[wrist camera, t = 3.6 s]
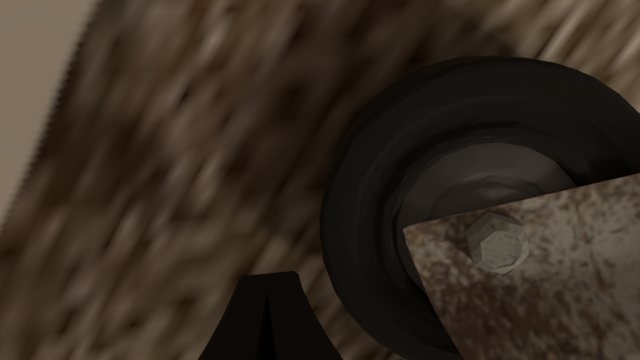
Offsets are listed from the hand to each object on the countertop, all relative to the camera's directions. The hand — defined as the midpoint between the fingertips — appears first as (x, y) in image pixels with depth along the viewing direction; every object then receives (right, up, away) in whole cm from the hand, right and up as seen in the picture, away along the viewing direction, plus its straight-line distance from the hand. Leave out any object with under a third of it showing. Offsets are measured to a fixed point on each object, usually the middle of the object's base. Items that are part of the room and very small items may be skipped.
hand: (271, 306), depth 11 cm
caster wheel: (+6, +2, +4) cm, 8 cm away
